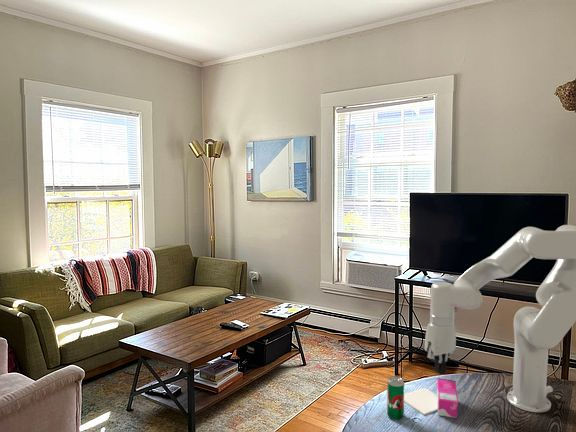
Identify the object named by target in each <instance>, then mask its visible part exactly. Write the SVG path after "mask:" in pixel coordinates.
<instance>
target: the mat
mask: <svg viewBox="0 0 576 432" xmlns="http://www.w3.org/2000/svg"><path fill="white" fill-rule="evenodd" d="M404 404H407V406H410V407H411V408H412V409H414V410H415V411H417V412H418V413H420V414H421V415H423V416H426V415H430V414H432V413H434V412H436V411H437V412H438V406H437V393H434V392H432V391H431V390H429V389H427V388H426V387H423V388H419V389H416V390H413V391H410V392H407V393H404Z"/></svg>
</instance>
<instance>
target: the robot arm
mask: <svg viewBox="0 0 576 432" xmlns="http://www.w3.org/2000/svg"><path fill="white" fill-rule="evenodd" d="M533 258H535V259H538V260H539V259H540V260H556V261H555V263H554V266H553V267H552V269H550V271H549V273H548V274H547V275H546V277H545V279H543V282H542V283H541V284H540V285H539V287H538V288H537V290H536V292H535V299H536V301H537V303H538V304H539V305H540V306H541V309H539V308H537V307H534V306H524V307H521V308H519V309H518V310H517V311H516V312H515V314H514V317H513V322H512V323H513V334H514V335H513V336H514V351H513V352H514V353H513V375H512V376H513V377H512V390H510V391H509V392H507V395H506V399H507V401H508V402H509V403H510V404H511V405H512V406H513V407H516V408H517V409H520V410H523V411H527V412H531V413H545V412H548V411H550V410H551V407H552V402H551V401H550V400H549V398H547V396H548V394H550V393H552V392H553V391H554V389H553V386H551V385H548V386H547V382H548V381H547V377H548V363H549V362H548V360H549V350H550V349H552V348H554V347H555V346H557V345H558V344H559V343H560V342H562V339H564V337H565V336H566V334H567V333H568V332H569V330H571V328H572V327H573V325H574V324H575V323H576V225H573V224H563V225H561V226H559V227H557V229H555V230H544V229H541V228H538V227H535V226H526V227H523V228H521V229H520V230H519V231H517V232H516V233H515V234H514V235H513V236H512V237H511V238H509V239H508V240H507V241H506V242H505V243H504V244H502V246H500V247H499V248H497V250H496V251H495V252H493V253H492V254H491V255H490V256H487V257H486V258H484V259H482V260H481V261H479V262H477V263H475V264H474V265H472V266H471V267H469V268H468V269H467V270H466V271H464V273H463V274H461V275H460V276H459V277H458V278H457V279H456V280H455V281H454V283H453V284H452V283H450V282H447V281H436V282H433V283H432V284H431V287H430V306H429V309H430V310H429V311H430V312H429V323H428V324H427V326H426V331H425V336H424V338H425V339H424V351H425V352H427V358H428V359H431V360H433V361H434V372H436V373H438V374H439V375H444V374H446V370H447V369H446V368H447V366H446V365H447V362H448V360H449V356H450V355H452V354H454V351H455V350H456V345H457V336H456V335H457V332H456V326H455V307H456V308H459V309H465V310H473V309H475V310H476V309H478V308H479V307H480V306H481V304H482V302H483V295H482V293H481V291H480V289H481V288H483V287H484V286H485V285H486V284H488V283H489V282H491V281H493V280H496V279H503V278H508V277H511V276H513V275H514V274H515V273H517V272H518V270H520V269H521V268H523V266H525V265H526V264H527V263H528V262H530V260H532V259H533Z"/></svg>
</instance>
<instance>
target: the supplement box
mask: <svg viewBox="0 0 576 432" xmlns="http://www.w3.org/2000/svg"><path fill="white" fill-rule="evenodd" d="M436 383H437V384H436V395H437V406H438V410H437V415H438V416H441V417H447V418H448V417H449V418H456V419H457V418H458V408H459V400H458V392H457V391H458V389H457V383H456V380H452V379H445V378H440V377H438V378H437V381H436Z"/></svg>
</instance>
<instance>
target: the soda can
mask: <svg viewBox="0 0 576 432" xmlns="http://www.w3.org/2000/svg"><path fill="white" fill-rule="evenodd" d="M386 392H387V400H386V401H387V402H386V403H387V404H386V405H387V406H386V407H387V408H386V410H387V411H386V412H387V413H386V415H387V417H389V418H390V419H392V420H394V421H399V420H402V419H403V418H404V417H405V402H404V394H405V382H404V379H403V378H401V377H399V376H396V375H395V376H390V377H389V378H388V380H387V391H386Z"/></svg>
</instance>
